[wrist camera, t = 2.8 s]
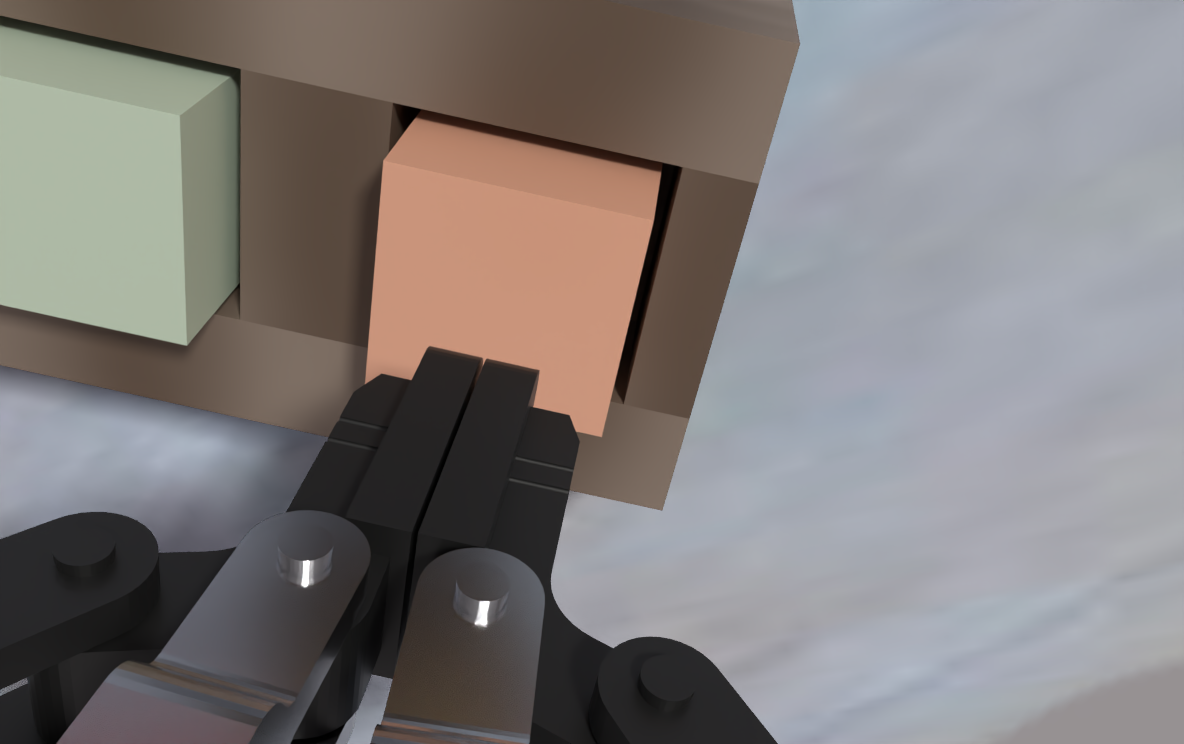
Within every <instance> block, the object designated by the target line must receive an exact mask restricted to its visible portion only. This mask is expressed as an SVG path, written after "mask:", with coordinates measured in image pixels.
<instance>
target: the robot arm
mask: <svg viewBox="0 0 1184 744" xmlns="http://www.w3.org/2000/svg"><path fill="white" fill-rule="evenodd" d="M539 373H540V370H537V369H532V368H528V367H523V366H519V365H514V364H510V363H505V362H501V361H496V360H492V359H486V360H485V362H484V365H483V358H482V357H478V356H473V355H469V354H464V353H460V352H455V351H451V350H446V349H442V348H437V347H433V346H429V347H428V348H427V349H426V351H425V353H424V355H423V357H422V359H421V362H420V364H419V366H418V368H417V370H416V372H415V374H414V376H413V378H412V380H409V379H404V378H400V377H395V376H391V375H386V374H382V373H381V374H380V375H378V376H377V377H375V378H374V379H372V380H371V381H369V382H368V383H366V384H365V385H363V386H362V387H360V388H359V389H357V390H356V391H354V392H353V394H352V396H351V398H350V399H349V401H348V403H347V405H346V406H345V408H344V410H343V412H342V414H341V415H340V419H339V421H337V422H336V424H335V426H334V428H333V430H332V431H331V433H330V435H329V438H328V441H327V442H325V444H324V446H323V447H322V449H321V451H320V453H319V454H318V456H317V458H316V460H315V462H314V463H313V465H312V467H311V469H310V471H309V472H308V474H307V476H306V478H305V479H304V481H303V483H302V485H301V487H300V488H299V490H298V492H297V494H296V495H295V497H294V499H293V501H292V503H291V504H290V506H289V508H288V510H287V511H286V513H282V514H278V515H275V516H272V517H270V518H267V519H266V520H264V521H262V522H260V523H259V524H257V525H256V526H255V527H253V528H252V529H251V530H250V531H249V532H248V533H247V534H246V535H245V537H244V538H243V539H242V541H241V542H240V544H239V545H238V546H237V547H234V548H231V549H225V550H219V551H208V552H173V553H158V544H157V541H156V539H155V537H154V536H153V534H152V532H151V531H150V530H149V529H148V528H147V527H146V526H144V525H143V524H141V523H140V522H138V521H136V520H134V519H132V518H129V517H127V516H123V515H119V514H115V513H107V512H87V513H78V514H73V515H68V516H64V517H61V518H58V519H55V520H52V521H49V522H47V523H44V524H41V525H38V526H36V527H33V528H30V529H27V530H25V531H22V532H19V533H16V534H14V535H11V536H8V537H5V538H3V539H0V689H2V688H5V687H7V686H9V685H11V684H14V683H16V682H18V681H20V680H22V679H25V678H27V680H28V684H26V685H23V686H21V687H19V688H17V689H15V690H12V691H10V692H8V693H6V694H4V695H1V696H0V744H347V743H348V740H349V738H350V736H351V734H352V731H353V728H354V724H355V716H356V711H357V709H358V707H359V705H360V703H361V701H362V698H363V696H364V693H365V691H366V688H367V685H368V683H369V680H370V677H371V675H372V674H373V675H378V676H382V677H387V678H391V679H393V681H392V684H391V688H390V692H389V696H388V700H387V704H386V708H385V712H384V716H383V719H382V722H381V725H379V724H377V726H376V728H375V730H374V733H373V736H372V740H371V743H370V744H778V743H777V742H776V741H775V740H774V738H773V737H772V736H771V735H770V733H769V732H768V731H767V730H766V728H765V727H764V726H763V725H762V723H761V722H760V721H759V720H758V718H757V717H756V716H755V715H754V713H753V712H752V711H751V710H750V708H749V707H748V706H747V705H746V703H745V702H744V701H743V700H742V698H741V697H740V696H739V695H738V693H737V692H736V691H735V690H734V688H733V687H732V686H731V685H730V683H729V682H728V681H727V679H726V678H725V677H724V676H723V674H722V673H721V672H720V671H719V669H718V668H717V667H716V666H715V665H714V664H713V663H712V662H711V661H710V660H709V659H708V658H707V657H705V656H704V655H703V654H702V653H700V652H699V651H697V650H695V649H694V648H692V647H690V646H688V645H686V644H684V643H681V642H678V641H675V640H672V639H667V638H662V637H640V638H635V639H631V640H628V641H626V642H623V643H621V644H619V645H618V646H616V647H615V648H611V647H610V646H608V645H606V644H604V643H602V642H600V641H598V640H596V639H594V638H592V637H591V636H589V635H587V634H586V633H584V632H582V631H581V630H580V629H578V628H577V627H576V626H575V625H573V624H572V623H571V622H570V621H569V620H568V619H567V618H566V617H565V616H564V614H563V613H562V611H561V610H560V609H559V607H558V605H557V603H556V601H555V599H554V597H553V593H552V590H551V573H552V568H553V563H554V559H555V554H556V550H557V545H558V540H559V536H560V531H561V527H562V522H563V517H564V513H565V508H566V504H567V499H568V494H569V490H570V485H571V481H572V476H573V471H574V467H575V462H576V458H577V453H578V449H579V444H580V441H579V438H578V435H577V433H576V430H575V428H574V425H573V423H572V420H571V418H570V415H567V414H562V413H558V412H553V411H549V410H544V409H540V408H535V407H533V406H534V401H535V396H536V391H537V385H538V380H539Z"/></svg>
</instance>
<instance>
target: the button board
mask: <svg viewBox="0 0 1184 744" xmlns="http://www.w3.org/2000/svg"><path fill="white" fill-rule="evenodd" d="M0 16H5V17H9V18H14V19H18V20H23V21H27V22H32V23H36V24H41V25H45V26H50V27H54V28H59V29H63V30H68V31H72V32H77V33H81V34H86V35H90V36H95V37H99V38H104V39H108V40H113V41H117V42H122V43H126V44H131V45H135V46H140V47H144V48H149V49H153V50H158V51H162V52H167V53H171V54H176V55H180V56H185V57H189V58H194V59H198V60H203V61H207V62H212V63H216V64H221V65H226V66H230V67H235V68H239V69H241V174H240V283H239V284H238V285H237V287H236V288H235V289H234V290H233V291H232V292H231V294H230V295H229V296H228V297H227V298H226V300H225V301H224V302H223V303H222V304H221V306H220V307H219V308H218V309H217V310H216V312H215V313H214V314H213V315H212V316H211V318H210V319H209V320H208V321H207V322H206V324H205V325H204V326H203V327H202V328H201V330H200V331H199V332H198V333H197V334H196V335H195V337H194V338H193V339H192V340H191V341H190V343H189V344H188V345H187V346H186V345H181V344H177V343H172V342H168V341H163V340H158V339H154V338H149V337H145V336H140V335H136V334H131V333H127V332H122V331H118V330H113V329H108V328H104V327H99V326H95V325H90V324H86V323H81V322H77V321H72V320H68V319H63V318H58V317H54V316H49V315H45V314H40V313H36V312H31V311H27V310H22V309H18V308H13V307H9V306H4V305H0V365H2V366H7V367H11V368H16V369H20V370H25V371H29V372H34V373H38V374H43V375H48V376H52V377H57V378H61V379H66V380H70V381H75V382H79V383H84V384H89V385H93V386H98V387H102V388H107V389H111V390H116V391H120V392H125V393H130V394H134V395H139V396H143V397H148V398H152V399H157V400H161V401H166V402H170V403H175V404H180V405H184V406H189V407H193V408H198V409H202V410H207V411H211V412H216V413H221V414H225V415H230V416H234V417H239V418H243V419H248V420H252V421H257V422H261V423H266V424H271V425H275V426H280V427H284V428H289V429H293V430H298V431H302V432H307V433H312V434H316V435H321V436H325V437H329V435H330V433H331V431H332V430H333V428H334V426H335V424H336V422H337V421H339V419H340V415H341V414H342V412H343V410H344V408H345V406H346V405H347V403H348V401H349V399H350V398H351V396H352V394H353V392H354V391H356V390H357V389H359V388H360V387H362V386H363V385H365V378H366V366H367V353H368V341H369V329H370V317H371V305H372V293H373V280H374V268H375V256H376V244H377V232H378V219H379V207H380V195H381V183H382V171H383V160H384V159H385V158H386V156H387V155H388V154H389V152H390V151H391V150H392V148H393V147H394V146H395V144H396V143H397V142H398V140H399V139H400V138H401V136H402V135H403V134H404V132H405V131H406V130H407V128H408V127H409V126H410V124H411V123H412V122H413V120H414V119H415V118H416V116H417V115H418V114H419V112H420V111H421V110H422V109H424V110H428V111H433V112H437V113H442V114H446V115H451V116H455V117H460V118H464V119H469V120H473V121H478V122H482V123H487V124H491V125H496V126H500V127H505V128H509V129H514V130H518V131H523V132H527V133H532V134H536V135H541V136H545V137H550V138H554V139H559V140H563V141H568V142H572V143H577V144H581V145H586V146H590V147H595V148H599V149H604V150H609V151H613V152H618V153H622V154H627V155H631V156H636V157H640V158H645V159H649V160H654V161H658V162H663V164H662V171H661V177H660V184H659V190H658V197H657V203H656V210H655V216H654V222H653V226H652V230H651V234H650V239H649V243H648V247H647V251H646V255H645V259H644V263H643V268H642V272H641V276H640V280H639V284H638V288H637V293H636V297H635V301H634V305H633V309H632V313H631V317H630V322H629V326H628V330H627V334H626V338H625V342H624V346H623V351H622V355H621V359H620V363H619V367H618V371H617V375H616V380H615V384H614V388H613V392H612V396H611V400H610V405H609V409H608V413H607V417H606V421H605V425H604V429H603V434H602V437H599V436H595V435H590V434H586V433H581V432H576V433H577V435H578V438H579V441H580V444H579V449H578V453H577V458H576V462H575V467H574V471H573V476H572V481H571V485H570V490H571V491H576V492H580V493H585V494H589V495H594V496H598V497H603V498H607V499H612V500H617V501H621V502H626V503H630V504H635V505H639V506H644V507H648V508H653V509H657V510H663V506H664V503H665V499H666V496H667V493H668V489H669V486H670V482H671V479H672V476H673V472H674V469H675V466H676V462H677V459H678V455H679V452H680V449H681V445H682V442H683V438H684V435H685V432H686V428H687V425H688V421H689V418H690V415H691V411H692V408H693V405H694V401H695V398H696V394H697V391H698V388H699V384H700V381H701V377H702V374H703V371H704V367H705V364H706V361H707V357H708V354H709V350H710V347H711V344H712V340H713V337H714V333H715V330H716V327H717V323H718V320H719V317H720V313H721V310H722V306H723V303H724V300H725V296H726V293H727V289H728V286H729V283H730V279H731V276H732V273H733V269H734V266H735V262H736V259H737V256H738V252H739V249H740V245H741V242H742V239H743V235H744V232H745V229H746V225H747V222H748V218H749V215H750V212H751V208H752V205H753V201H754V198H755V195H756V191H757V188H758V184H759V181H760V178H761V174H762V171H763V168H764V164H765V161H766V157H767V154H768V151H769V147H770V144H771V140H772V137H773V134H774V130H775V127H776V124H777V120H778V117H779V113H780V110H781V107H782V103H783V100H784V96H785V93H786V90H787V86H788V83H789V80H790V76H791V73H792V69H793V66H794V63H795V59H796V56H797V52H798V49H799V46H800V41H799V36H798V30H797V25H796V19H795V14H794V9H793V3H792V0H0Z"/></svg>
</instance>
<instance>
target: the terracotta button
mask: <svg viewBox="0 0 1184 744" xmlns="http://www.w3.org/2000/svg"><path fill="white" fill-rule="evenodd" d="M662 164H663V162H658V161H654V160H649V159H645V158H640V157H636V156H631V155H627V154H622V153H618V152H613V151H609V150H604V149H599V148H595V147H590V146H586V145H581V144H577V143H572V142H568V141H563V140H559V139H554V138H550V137H545V136H541V135H536V134H532V133H527V132H523V131H518V130H514V129H509V128H505V127H500V126H496V125H491V124H487V123H482V122H478V121H473V120H469V119H464V118H460V117H455V116H451V115H446V114H442V113H437V112H433V111H428V110H424V109H422V110H421V111H420V112H419V114H418V115H417V116H416V118H415V119H414V120H413V122H412V123H411V124H410V126H409V127H408V128H407V130H406V131H405V132H404V134H403V135H402V136H401V138H400V139H399V140H398V142H397V143H396V144H395V146H394V147H393V148H392V150H391V151H390V152H389V154H388V155H387V156H386V158H385V159H384V160H383V171H382V183H381V195H380V207H379V219H378V232H377V244H376V256H375V268H374V280H373V293H372V305H371V317H370V329H369V341H368V353H367V366H366V378H365V384H366V383H368V382H369V381H371V380H372V379H374V378H375V377H377V376H378V375H380V374H381V373H382V374H386V375H391V376H395V377H400V378H404V379H409V380H412V378H413V376H414V374H415V372H416V370H417V368H418V366H419V364H420V362H421V359H422V357H423V355H424V353H425V351H426V349H427V348H428V347H429V346H433V347H437V348H442V349H446V350H451V351H455V352H460V353H464V354H469V355H473V356H478V357H482V358H483V365H484V362H485V360H486V359H492V360H496V361H501V362H505V363H510V364H514V365H519V366H523V367H528V368H532V369H537V370H540V373H539V380H538V385H537V391H536V396H535V401H534V406H533V407H535V408H540V409H544V410H549V411H553V412H558V413H562V414H567V415H570V418H571V420H572V423H573V425H574V428H575V430H576V432H581V433H586V434H590V435H595V436H599V437H602V434H603V429H604V425H605V421H606V417H607V413H608V409H609V405H610V400H611V396H612V392H613V388H614V384H615V380H616V375H617V371H618V367H619V363H620V359H621V355H622V351H623V346H624V342H625V338H626V334H627V330H628V326H629V322H630V317H631V313H632V309H633V305H634V301H635V297H636V293H637V288H638V284H639V280H640V276H641V272H642V268H643V263H644V259H645V255H646V251H647V247H648V243H649V239H650V234H651V230H652V226H653V222H654V216H655V210H656V203H657V197H658V190H659V184H660V177H661V171H662Z"/></svg>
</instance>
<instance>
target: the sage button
mask: <svg viewBox="0 0 1184 744" xmlns="http://www.w3.org/2000/svg"><path fill="white" fill-rule="evenodd" d="M240 174H241V69H239V68H235V67H230V66H226V65H221V64H216V63H212V62H207V61H203V60H198V59H194V58H189V57H185V56H180V55H176V54H171V53H167V52H162V51H158V50H153V49H149V48H144V47H140V46H135V45H131V44H126V43H122V42H117V41H113V40H108V39H104V38H99V37H95V36H90V35H86V34H81V33H77V32H72V31H68V30H63V29H59V28H54V27H50V26H45V25H41V24H36V23H32V22H27V21H23V20H18V19H14V18H9V17H5V16H0V305H4V306H9V307H13V308H18V309H22V310H27V311H31V312H36V313H40V314H45V315H49V316H54V317H58V318H63V319H68V320H72V321H77V322H81V323H86V324H90V325H95V326H99V327H104V328H108V329H113V330H118V331H122V332H127V333H131V334H136V335H140V336H145V337H149V338H154V339H158V340H163V341H168V342H172V343H177V344H181V345H186V346H187V345H188V344H189V343H190V341H191V340H192V339H193V338H194V337H195V335H196V334H197V333H198V332H199V331H200V330H201V328H202V327H203V326H204V325H205V324H206V322H207V321H208V320H209V319H210V318H211V316H212V315H213V314H214V313H215V312H216V310H217V309H218V308H219V307H220V306H221V304H222V303H223V302H224V301H225V300H226V298H227V297H228V296H229V295H230V294H231V292H232V291H233V290H234V289H235V288H236V287H237V285H238V284H239V283H240Z"/></svg>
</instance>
